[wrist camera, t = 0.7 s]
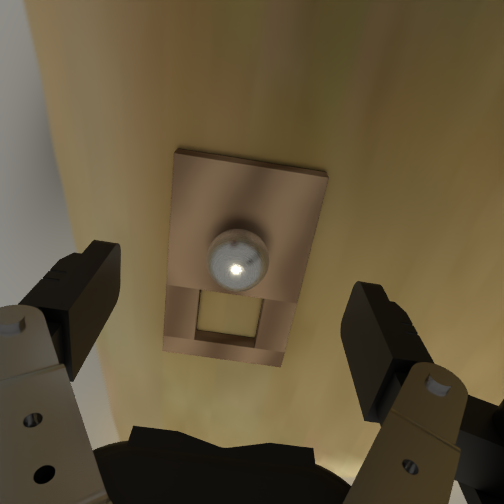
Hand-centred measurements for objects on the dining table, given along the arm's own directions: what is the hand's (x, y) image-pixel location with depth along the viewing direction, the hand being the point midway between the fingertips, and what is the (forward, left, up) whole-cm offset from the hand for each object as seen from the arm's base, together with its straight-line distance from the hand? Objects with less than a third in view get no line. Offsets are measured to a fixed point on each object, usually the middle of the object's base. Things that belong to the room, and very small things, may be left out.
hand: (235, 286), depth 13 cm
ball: (0, +8, -16) cm, 18 cm away
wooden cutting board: (0, +11, -20) cm, 23 cm away
